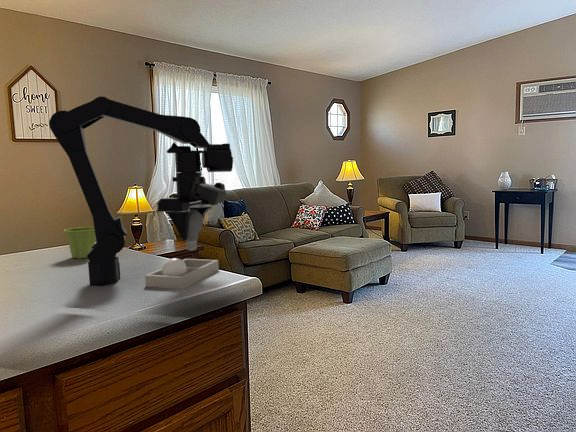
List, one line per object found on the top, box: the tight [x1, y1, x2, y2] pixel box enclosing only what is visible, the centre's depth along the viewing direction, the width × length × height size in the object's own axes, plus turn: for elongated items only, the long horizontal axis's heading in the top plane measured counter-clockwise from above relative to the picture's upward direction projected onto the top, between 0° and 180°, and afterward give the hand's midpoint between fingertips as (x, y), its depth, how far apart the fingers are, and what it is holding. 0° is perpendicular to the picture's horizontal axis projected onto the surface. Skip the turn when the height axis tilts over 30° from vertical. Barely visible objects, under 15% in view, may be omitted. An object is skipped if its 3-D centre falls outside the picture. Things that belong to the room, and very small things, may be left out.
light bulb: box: [185, 209, 204, 251], centre depth 105 cm, size 6×6×10 cm
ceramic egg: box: [161, 257, 187, 276], centre depth 98 cm, size 5×5×5 cm
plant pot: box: [63, 226, 96, 260], centre depth 134 cm, size 9×9×9 cm
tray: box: [144, 258, 220, 290], centre depth 102 cm, size 17×9×3 cm, turn 163°
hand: (191, 237), depth 105 cm, fingers closed on light bulb, 5 cm apart
